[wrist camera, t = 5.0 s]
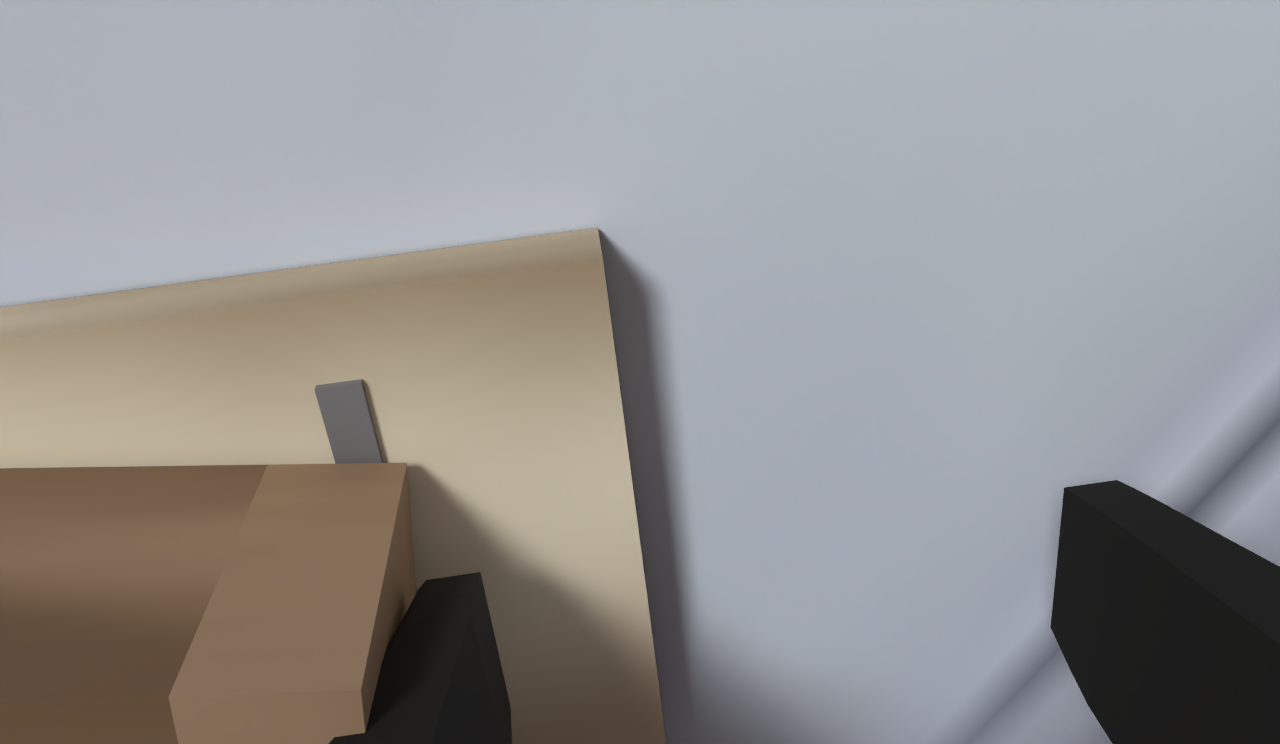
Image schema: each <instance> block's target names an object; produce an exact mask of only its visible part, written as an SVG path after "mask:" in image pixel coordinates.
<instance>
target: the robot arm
mask: <svg viewBox="0 0 1280 744" xmlns="http://www.w3.org/2000/svg"><path fill="white" fill-rule="evenodd" d="M1051 629H1052V631H1053V633H1054V635H1055V638H1056V640H1057V642H1058V644H1059V646H1060V648H1061V650H1062V653H1063V655H1064V657H1065V659H1066V661H1067V663H1068V666H1069V668H1070V670H1071V672H1072V674H1073V676H1074V678H1075V680H1076V682H1077V684H1078V686H1079V688H1080V690H1081V692H1082V694H1083V696H1084V698H1085V700H1086V702H1087V704H1088V706H1089V707H1090V709H1091V710H1092V712H1093V714H1094V715H1095V717H1096V718H1097V720H1098V722H1099V723H1100V725H1101V726H1102V728H1103V729H1104V731H1105V732H1106V734H1107V736H1108V737H1109V739H1110V740H1111V742H1112V743H1113V744H1280V567H1279V566H1277V565H1275V564H1273V563H1272V562H1270V561H1268V560H1266V559H1264V558H1262V557H1260V556H1258V555H1257V554H1255V553H1253V552H1251V551H1249V550H1247V549H1246V548H1244V547H1242V546H1240V545H1238V544H1236V543H1234V542H1233V541H1231V540H1229V539H1227V538H1225V537H1223V536H1222V535H1220V534H1218V533H1216V532H1214V531H1213V530H1211V529H1209V528H1207V527H1205V526H1203V525H1202V524H1200V523H1198V522H1196V521H1194V520H1192V519H1191V518H1189V517H1187V516H1185V515H1183V514H1182V513H1180V512H1178V511H1176V510H1174V509H1172V508H1170V507H1169V506H1167V505H1165V504H1163V503H1161V502H1159V501H1157V500H1156V499H1154V498H1152V497H1150V496H1148V495H1146V494H1144V493H1142V492H1140V491H1138V490H1136V489H1134V488H1132V487H1130V486H1128V485H1126V484H1124V483H1122V482H1120V481H1117V480H1115V481H1108V482H1101V483H1094V484H1087V485H1080V486H1073V487H1066V488H1064V496H1063V506H1062V516H1061V527H1060V537H1059V547H1058V557H1057V568H1056V578H1055V588H1054V599H1053V609H1052V619H1051ZM329 744H512V729H511V706H510V702H509V697H508V693H507V689H506V684H505V680H504V675H503V671H502V666H501V662H500V657H499V653H498V648H497V644H496V639H495V635H494V630H493V626H492V621H491V617H490V612H489V608H488V603H487V599H486V595H485V590H484V586H483V581H482V577H481V572H477V573H470V574H463V575H457V576H450V577H443V578H436V579H429V580H426V581H425V582H424V583H423V584H422V586H421V587H420V588H419V589H418V591H417V593H416V595H415V597H414V598H413V600H412V602H411V604H410V606H409V608H408V610H407V612H406V614H405V616H404V617H403V619H402V621H401V623H400V625H399V627H398V629H397V630H396V632H395V634H394V636H393V638H392V639H391V641H390V643H389V646H388V648H387V651H386V653H385V656H384V658H383V661H382V664H381V668H380V673H379V677H378V681H377V685H376V690H375V694H374V698H373V702H372V706H371V711H370V715H369V719H368V723H367V728H366V732H365V733H360V734H353V735H346V736H339V737H334V738H333V739H332V740H331V741H330V742H329Z"/></svg>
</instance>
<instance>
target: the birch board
mask: <svg viewBox="0 0 1280 744" xmlns="http://www.w3.org/2000/svg"><path fill="white" fill-rule="evenodd" d="M344 463H407V470H408V484H409V498H410V512H411V527H412V541H413V555H414V569H415V583H416V593H417V591H418V589H419V588H420V587H421V586H422V584H423V583H424V582H425V581H426V580H429V579H436V578H443V577H450V576H457V575H463V574H470V573H477V572H481V577H482V581H483V586H484V590H485V595H486V599H487V603H488V608H489V612H490V617H491V621H492V626H493V630H494V635H495V639H496V644H497V648H498V653H499V657H500V662H501V666H502V671H503V675H504V680H505V684H506V689H507V693H508V697H509V702H510V706H511V729H512V744H667V743H666V735H665V727H664V720H663V712H662V705H661V697H660V689H659V682H658V674H657V666H656V659H655V651H654V644H653V636H652V628H651V621H650V613H649V606H648V598H647V590H646V583H645V575H644V567H643V560H642V552H641V545H640V537H639V529H638V522H637V514H636V506H635V499H634V491H633V484H632V476H631V468H630V461H629V453H628V446H627V438H626V430H625V423H624V415H623V407H622V400H621V392H620V385H619V377H618V369H617V362H616V354H615V347H614V339H613V331H612V324H611V316H610V308H609V301H608V293H607V286H606V278H605V270H604V263H603V256H602V250H601V244H600V238H599V233H598V228H592V229H585V230H577V231H570V232H562V233H554V234H547V235H539V236H532V237H524V238H517V239H509V240H502V241H494V242H487V243H479V244H472V245H464V246H457V247H449V248H442V249H434V250H427V251H419V252H412V253H404V254H396V255H389V256H381V257H374V258H366V259H359V260H351V261H344V262H336V263H329V264H321V265H314V266H306V267H299V268H291V269H284V270H276V271H269V272H261V273H253V274H246V275H238V276H231V277H223V278H216V279H208V280H201V281H193V282H186V283H178V284H171V285H163V286H156V287H148V288H141V289H133V290H126V291H118V292H110V293H103V294H95V295H88V296H80V297H73V298H65V299H58V300H50V301H43V302H35V303H28V304H20V305H13V306H5V307H0V468H60V467H131V466H202V465H273V464H344Z"/></svg>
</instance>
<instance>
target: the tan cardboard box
mask: <svg viewBox="0 0 1280 744" xmlns="http://www.w3.org/2000/svg"><path fill="white" fill-rule="evenodd" d="M415 595H416V583H415V569H414V555H413V541H412V527H411V512H410V498H409V484H408V470H407V463H344V464H273V465H202V466H131V467H60V468H0V744H329V742H330V741H331V740H332V739H333V738H334V737H339V736H346V735H353V734H360V733H365V732H366V728H367V723H368V719H369V715H370V711H371V706H372V702H373V698H374V694H375V690H376V685H377V681H378V677H379V673H380V668H381V664H382V661H383V658H384V656H385V653H386V651H387V648H388V646H389V643H390V641H391V639H392V638H393V636H394V634H395V632H396V630H397V629H398V627H399V625H400V623H401V621H402V619H403V617H404V616H405V614H406V612H407V610H408V608H409V606H410V604H411V602H412V600H413V598H414V597H415Z"/></svg>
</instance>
